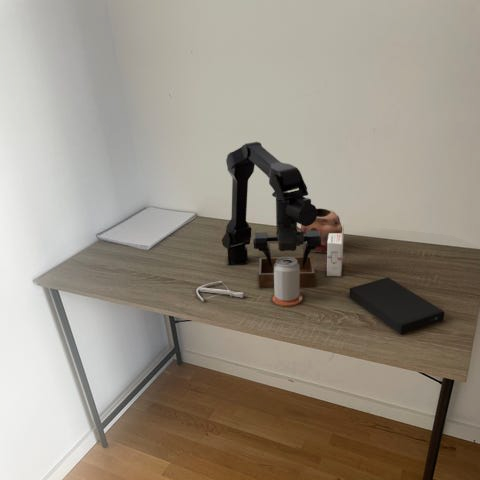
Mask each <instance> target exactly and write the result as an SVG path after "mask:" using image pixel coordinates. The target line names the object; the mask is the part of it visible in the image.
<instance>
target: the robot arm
mask: <svg viewBox="0 0 480 480" xmlns="http://www.w3.org/2000/svg"><path fill="white" fill-rule="evenodd" d="M225 162H226V167H227V172H228V173H229V174H230V177H231V179H232V181H231V183H232V184H231V218H230V220H229V222H228V223H227V224H226V227H225V233H224V234H223V237H222V238H221V242H222V246H223V248H225V249H226V250H227V251H226V252H227V265H229V266H234V265H247V261H248V259H249V252H248V247H247V245H250V244H251V240H253V242H252V243H253V249H255V250H258V251H259V252H262V253H263V254H264V256H265V258H267V260H268V263H269V265H270V268H272V259H271V258H272V253H271V247H270V244H278V251H280V252H287V251H288V252H289V251H291V252H295V251H296V250H297V247H301V246H302V245H303V251H302V257H303V258H302V267H304V265H305V263H306V260H307V257H308V256H309V255H310V253H311V252H312V251H311V250H313V249H316V247H320V246H321V235H320V232H319V231H318V230H313V231H306V235H304V232H300V231H299V230H298V229H297V226H298V224H300V225H303V226H309V225H311V224H313V223H314V221H315V220H316V218H317V213H318V212H317V207H316V206H315V205H314V204H313V203H312V199H311V198H310V197H306V196H309V192H308V186H307V184H306V182H305V180H304V177H303V176H302V172H301V171H300V169H299V168H298V167H296V166H295V165H293V164H290V163H285V162H282V161H280V160H279V159H277V158H276V157H275V156H274V155H273V154H271V153H270V152H269V151H268V150H267V149H266V148H264V147H263V145H262V143H261V142H259V141H251V142H246V143H244V144H243V145H241V147H239V148H237V149H235V150H233V151H231V152H229V153H228V154H227V155H226V159H225ZM255 166H256V167H257V168H258V169H259V170H260V171H261V172H262V173H263V174H265V175H266V177H267V178H268V185H270V187H271V188H272V189H273V193H272V194H271V196H272V197H273V198H275V218H276V219H275V220H276V221H275V223H276V225H275V226H276V231H275V232H276V234H275V235H268V231H264V232H261V231H260V232H255V233H254V234H253V239H251V238H252V227H251V226H250V224H249V222H248V221H247V209H248V189H249V180H250V178H251V177H252V175H253V173H254V172H255Z"/></svg>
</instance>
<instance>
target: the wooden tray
mask: <svg viewBox="0 0 480 480" xmlns="http://www.w3.org/2000/svg"><path fill="white" fill-rule="evenodd" d="M282 257H283V256H277V257H276V256H275V257H271V259H272V268H270V265H269V263H268V260H267V258H266V257H259V260H258V261H259V263H258V288H259V289H274V265H275V264H276V260H277V259H279V258H282ZM291 257H292V258H295V259H296V260H297V263H298V264H299V266H300V281H299V288H311V287H312V288H313V287H315V284H316V283H315V281H316V280H315V279H316V277H315V275H316V272H315V267H314V261H313V256H311V255H310V256H309V255H308V257H307V260H306V263H305V265H304V267H302V258H303V256H291Z"/></svg>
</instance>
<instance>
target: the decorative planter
mask: <svg viewBox="0 0 480 480" xmlns="http://www.w3.org/2000/svg"><path fill="white" fill-rule="evenodd" d="M316 209H317V212H318V213H317V218H316V220H315V221H314V223H313V224H311V225H309V226H303V225H301V224H300V225H301V226H300V227H299V226H298V225H297V231H299V232H304V235H306V231H313V230H318V231H319V232H320V235H321V246H320V247H316V249H313V250H311V252H314V253H319V254H321V253H322V254H324V253H325V254H326V253H327V242H328V236H329V233H342V228H343V229H344V228H345V227H344V226H343V225H342V223H341V220H340V219H341V218H340V216H339V215H337V213H336V212H335V211H333V210H329V209H327V208H319V207H318V208H317V207H316ZM344 230H345V229H344Z"/></svg>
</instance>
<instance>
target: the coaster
mask: <svg viewBox="0 0 480 480" xmlns="http://www.w3.org/2000/svg"><path fill="white" fill-rule="evenodd" d="M302 301H303V295H302V294H301V293H300V292H299V296H298V297H297V298H296V299H295V300H293V301H287V302H286V301H281V300H279V299H278V298H276V297H275V293H274V294H273V295H272V302H273V303H274V304H276V305H277V306H281V307H293V306H296V305H299V304H300V303H302Z"/></svg>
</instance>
